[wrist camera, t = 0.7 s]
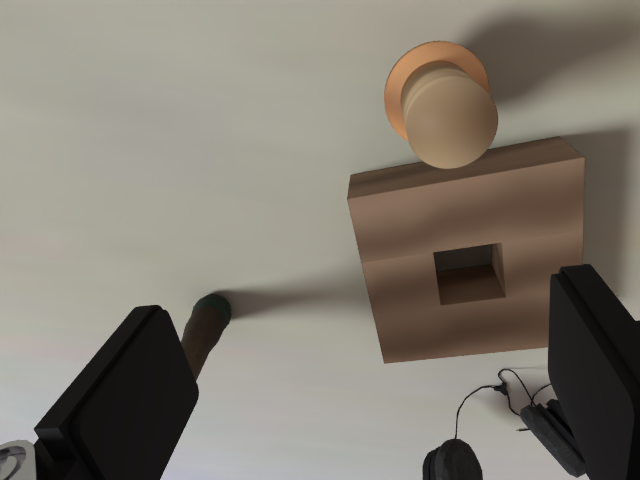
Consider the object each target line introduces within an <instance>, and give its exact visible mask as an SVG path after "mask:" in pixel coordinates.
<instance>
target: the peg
mask: <svg viewBox="0 0 640 480" xmlns="http://www.w3.org/2000/svg"><path fill="white" fill-rule="evenodd" d="M384 101H385V110H386V114H387V117H388V119H389V122H390V123H391V125H392V127H393V128H394V129H395V131H396V132H397V133H398V134H399V135H400V136H401V137H403V138H404V139H405V140H407V141H409V144H410V146H411V148H412V150H413V151H414V153H415V154H416V155H417V156H418V157H419V158H420V159H421V160H422V161H424V162H425V163H427V164H429V165H431V166H434V167H438V168H444V169H451V168H458V167H462V166H465V165H467V164H469V163H471V162H473V161H475V160H476V159H478V158H479V157H480V156H481V155H482V154H483V153H484V152H485V151H486V150H487V149H488V148H489V146H490V145H491V143H492V141H493V139H494V137H495V135H496V131H497V126H498V113H497V109H496V105H495V103H494V101H493V99H492V98H491V96H490V95H489V83H488V78H487V74H486V71H485V69H484V67H483V65H482V64H481V62H480V61H479V60H478V58H477V57H476V56H475V55H474V54H472V53H471V52H470V51H469V50H467V49H465V48H464V47H462V46H460V45H458V44H455V43H452V42H447V41H433V42H427V43H424V44H421V45H419V46H417V47H414V48H413V49H411V50H410V51H408V52H407V53H406V54H404V55H403V56H402V57H401V58H400V59H399V60H398V61H397V63H396V64H395V65H394V67H393V69H392V70H391V72H390V74H389V76H388V79H387V82H386V86H385V93H384Z"/></svg>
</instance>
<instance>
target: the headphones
mask: <svg viewBox="0 0 640 480" xmlns="http://www.w3.org/2000/svg"><path fill="white" fill-rule="evenodd" d="M503 370H510V369H503ZM503 370H501V371H503ZM501 371H499V373H498V377H499V376H500V372H501ZM510 371H512V370H510ZM512 372H513V373H514V374H515V375H516V376H517V377H518V375H517V374H516V373H515V372H514V371H512ZM499 378H500V377H499ZM518 379H519V380H520V378H519V377H518ZM500 380H501V381H502V382H503V383H502V385H500V386H495V387H492V386H485V387H481V388H488V387H491V388H494V390H495V391H500V392H501V393H502V394H504V395H505V396H506V395H507V396H508V391H507V390H506V383H504V381H503V380H502V379H501V378H500ZM520 382H521V383H522V385H523V387H524V388H525V386H524V384H523V382H522V381H521V380H520ZM549 385H551V384H549ZM549 385H547V386H549ZM547 386H544V387H542V388H541V389H540V390H542V389H543V388H545V387H547ZM481 388H479V389H477V390H476V391H478V390H480V389H481ZM525 390H526V392H527V394H528V395H529V393H528V391H527V389H526V388H525ZM540 390H539V391H540ZM476 391H474V392H473V393H475V392H476ZM539 391H538V392H539ZM538 392H537V393H538ZM473 393H471V394H473ZM537 393H536V394H537ZM471 394H470V395H471ZM536 394H534V395H533V397H532V398H531V397H530V395H529V397H530V399H531V406H530V405H528V406H526V407H524V408H522V409H521V412H520V415H519V414H517V413H515V412H514V411H513V410H512V409H511V407H510V399H509V396H508V401H509V408H510V409H511V410H512V412H513V413H514V414H516V415H519V416H520V417H521V419H522V421H523V422H524V423H525V424H526V426H527V427H528V428H529V429H523V430H516V431H525V430H531V431H532V433H533V434H534V435H535V436H536V437H537V438H538V440H539V441H540V442H541V443H542V444H543V445H544V446H545V448H546V449H547V450H548V451H549V452H550V453H551V454H552V456H553V457H554V458H555V459H556V460H557V461H558V462H559V463H560V465H561V466H562V467H563V468H564V469H565V470H566V471H567V472H568V473H569V474H570V475H572V476H575V477H577V478H578V477H580V476H581V475H583V474H585V473H586V474H587V476H588V477H589V479H590V480H593V478H592V476H591V474H590V472H589V469H588V467H587V465H586V462H585V460H584V458H583V456H582V453H581V451H580V449H579V446H578V444H577V442H576V440H575V437H574V435H573V433H572V430H571V428H570V426H569V424H568V421H567V419H566V417H565V414H564V412H563V410H562V408H561V405H560V403H559V401H558V400H554V399H551V400H550V401H548V402H547V403H546V404H547V406H548V407H547V408H546V409H545V408H544V407H543V406H542V405H541V404H540V403H539V404H538V405H537V406H536V405H535V403H534V402H533V399H534V396H535V395H536ZM470 395H468V396H467V397H466V398H465V399H464V401H465V400H466V399H467V398H468V397H469V396H470ZM464 401H463V402H462V404H461V406H460V407H459V409H458V412H457V419H458V414H459V410H460V408H461V407H462V405H463V403H464ZM532 403H533V404H534V406H535V407H533V406H532ZM456 437H457V421H456V435H455V439H450V440H447V441H445V442H444V443H443V444H442V445H441V446H440V447H438V448H436V449H435V450H432V451H431V452H429V453H428V454H427V456H426V458H425V460H424V463H423V480H483V476H482V469H481V466H480V464H479V462H478V459H477V457H476V455H475V453H474V452H473V450H472V449H471V447H470V446H469V444H467V443H465V442H464V441H462V440H460V439H456Z"/></svg>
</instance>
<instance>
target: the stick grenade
mask: <svg viewBox="0 0 640 480" xmlns="http://www.w3.org/2000/svg"><path fill="white" fill-rule="evenodd" d="M230 318H231V309H230V305H229V303H228V302H227V301H226V300H225V299H224V298H222V297H220V296H217V295H207V296H205V297H203V298H202V299H200V300H199V301H198V302H197V303H196V305H195V306H194V307H193V311H192V315H191V317H190V319H189V321H188V322H187V324H186V326H185V329H184V333H183V338H182V340H181V342H180V343H181V345H182V348H183V350H184V353H185V355H186V358H187V360H188V363H189V365H190V368H191V370H192V373H193V375H194V378H195V380H197V378H198V376H199V374H200V371H201V369H202V367H203V365H204V363H205V361H206V359H207V356H208V354H209V352H210V351H211V350H212V348H213V347H214V346H215V345H216V344H217V342H218V341H219V339H220V337H221V334H222V332H223V330H224V329H225V328H226V326H227V325H228V324H229V322H230Z"/></svg>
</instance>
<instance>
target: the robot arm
mask: <svg viewBox="0 0 640 480" xmlns="http://www.w3.org/2000/svg"><path fill="white" fill-rule="evenodd" d="M548 374H549V378H550V382H551V385H552V387H553V389H554V392H555V394H556V396H557V398H558V401H559V403H560V405H561V408H562V410H563V412H564V414H565V417H566V419H567V421H568V424H569V426H570V428H571V430H572V433H573V435H574V437H575V440H576V442H577V444H578V446H579V449H580V451H581V453H582V456H583V458H584V460H585V462H586V465H587V467H588V469H589V472H590V474H591V476H592V478H593V480H640V321H635V320H634V319H633V317H632V316H631V315H630V313H629V312H628V311H627V310H626V308H625V307H624V306H623V305H622V303H621V302H620V301H619V300H618V298H617V297H616V296H615V295H614V293H613V292H612V291H611V290H610V288H609V287H608V286H607V284H606V283H605V282H604V281H603V279H602V278H601V277H600V276H599V274H598V273H597V272H596V271H595V269H594V268H593V267H592V266H591V265H590V264H584V265H573V266H563V267H561V268H560V269H559V273H558V274H552V275H551V277H550V305H549V343H548ZM198 396H199V389H198V385H197V383H196V380H195V378H194V375H193V373H192V370H191V368H190V365H189V363H188V360H187V358H186V355H185V353H184V350H183V348H182V345H181V343H180V340H179V338H178V335H177V333H176V330H175V327H174V325H173V322H172V320H171V317H170V315H169V313H168V312H167V311H166V310H163V309H162V308H161V307H160V306H159V305H150V306H139V307H135V308H134V309H133V310H132V311H131V313H130V314H129V315H128V316H127V317H126V319H125V320H124V321H123V322H122V323H121V325H120V326H119V327H118V328H117V329H116V331H115V332H114V333H113V334H112V335H111V337H110V338H109V339H108V340H107V341H106V343H105V344H104V345H103V346H102V347H101V349H100V350H99V351H98V352H97V353H96V355H95V356H94V357H93V358H92V359H91V361H90V362H89V363H88V364H87V365H86V367H85V368H84V369H83V370H82V371H81V373H80V374H79V375H78V376H77V377H76V379H75V380H74V381H73V382H72V383H71V385H70V386H69V387H68V388H67V389H66V391H65V392H64V393H63V394H62V395H61V397H60V398H59V399H58V400H57V401H56V403H55V404H54V405H53V406H52V407H51V409H50V410H49V411H48V412H47V413H46V415H45V416H44V417H43V418H42V419H41V421H40V422H39V423H38V424H37V425H36V427H35V428H34V431H35V432H36V434H37V435H38V437H39V439H38V440H37V441H36V443H35V444H34V445H33V444H32V443H31V442H29V441H27V440H16V441H11V442H7V443H5V444H3V445H0V480H160V478H161V476H162V474H163V472H164V470H165V468H166V466H167V464H168V462H169V459H170V457H171V455H172V453H173V451H174V449H175V447H176V445H177V443H178V441H179V439H180V436H181V434H182V432H183V430H184V428H185V426H186V424H187V422H188V420H189V418H190V415H191V413H192V411H193V409H194V407H195V405H196V403H197V400H198Z"/></svg>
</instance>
